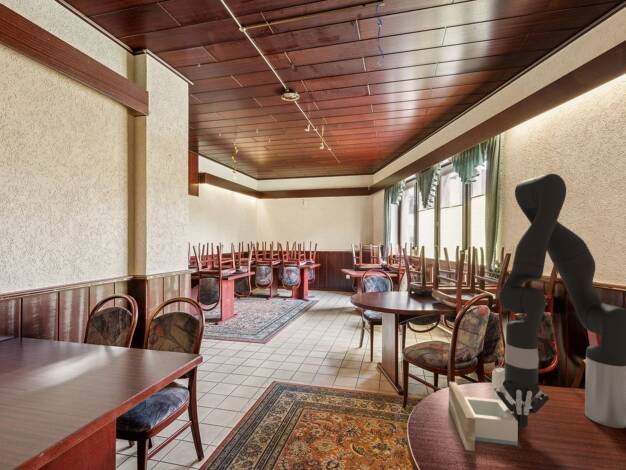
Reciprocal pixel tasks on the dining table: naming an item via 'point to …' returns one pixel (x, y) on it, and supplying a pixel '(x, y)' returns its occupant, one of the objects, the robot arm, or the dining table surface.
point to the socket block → (493, 421)
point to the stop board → (462, 416)
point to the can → (499, 383)
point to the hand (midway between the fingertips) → (520, 426)
